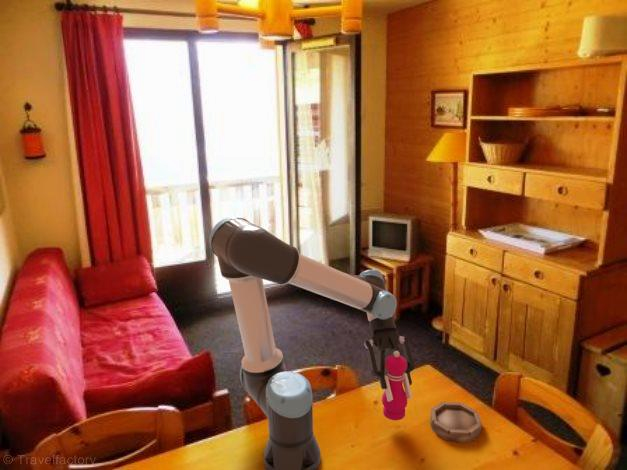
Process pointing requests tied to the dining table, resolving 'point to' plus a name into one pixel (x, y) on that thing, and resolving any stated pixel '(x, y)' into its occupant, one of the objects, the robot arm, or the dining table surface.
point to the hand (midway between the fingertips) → (400, 399)
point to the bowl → (455, 422)
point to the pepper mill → (395, 387)
